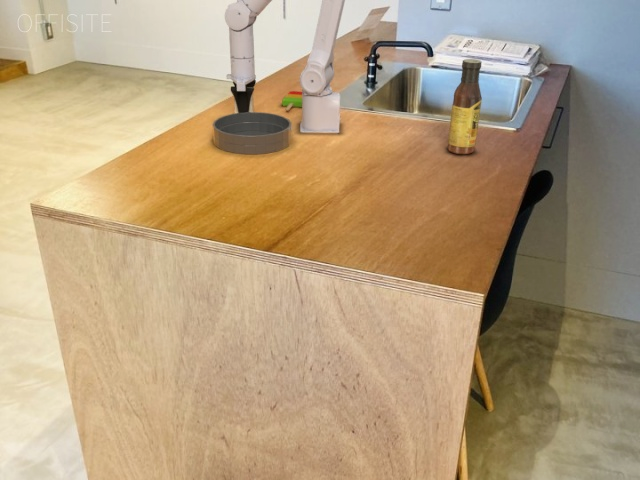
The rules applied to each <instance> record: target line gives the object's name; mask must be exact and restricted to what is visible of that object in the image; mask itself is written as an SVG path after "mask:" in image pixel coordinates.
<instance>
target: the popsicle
mask: <svg viewBox="0 0 640 480" xmlns="http://www.w3.org/2000/svg"><path fill="white" fill-rule="evenodd" d="M281 104H282V106H283V107H285V111H290V110H291V109H292V108H302V91H297V90H296V91H295V90H291V91H289V92H288V93H287V94H286V95H285V96H284V97H283V98H282V100H281Z"/></svg>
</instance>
